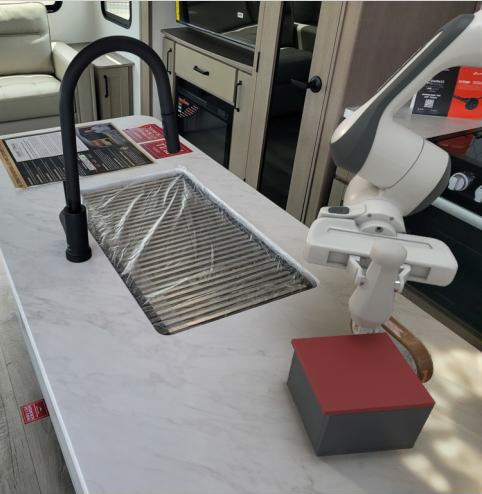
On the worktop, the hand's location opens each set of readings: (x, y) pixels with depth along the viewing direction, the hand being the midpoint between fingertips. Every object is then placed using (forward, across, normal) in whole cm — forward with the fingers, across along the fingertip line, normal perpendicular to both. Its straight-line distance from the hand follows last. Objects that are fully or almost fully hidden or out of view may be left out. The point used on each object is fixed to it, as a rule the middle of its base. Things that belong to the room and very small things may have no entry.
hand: (379, 285), depth 64 cm
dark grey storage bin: (+6, 0, -19) cm, 20 cm away
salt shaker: (-1, 0, -7) cm, 7 cm away
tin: (-6, -5, -20) cm, 21 cm away
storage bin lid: (+6, +1, -11) cm, 12 cm away
